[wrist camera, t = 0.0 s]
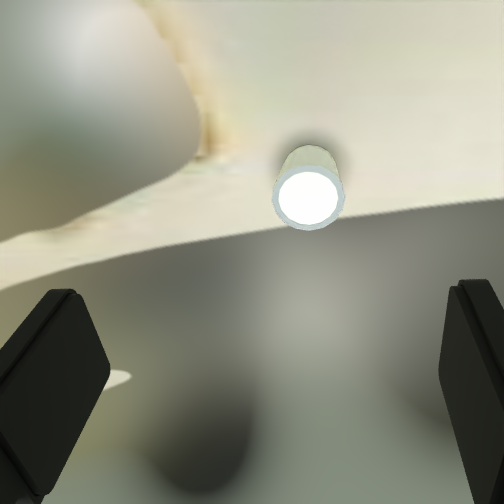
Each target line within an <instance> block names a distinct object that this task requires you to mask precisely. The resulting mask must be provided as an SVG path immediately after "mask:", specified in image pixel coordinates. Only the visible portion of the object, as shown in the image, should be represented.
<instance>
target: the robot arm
mask: <svg viewBox="0 0 504 504" xmlns="http://www.w3.org/2000/svg"><path fill="white" fill-rule="evenodd" d="M109 376H110V363H109V361H108V358H107V356H106V353H105V351H104V348H103V346H102V344H101V341H100V339H99V336H98V334H97V331H96V329H95V327H94V324H93V322H92V319H91V317H90V314H89V312H88V310H87V307H86V305H85V303H84V300H83V298H82V296H81V295H80V294H77V293H76V291H75V290H73V289H51V290H49V291H48V292H47V293H46V294H45V295H44V297H43V298H42V299H41V300H40V301H39V303H38V304H37V305H36V306H35V308H34V309H33V310H32V311H31V313H30V314H29V315H28V316H27V317H26V319H25V320H24V321H23V322H22V324H21V325H20V326H19V327H18V328H17V330H16V331H15V332H14V333H13V335H12V336H11V337H10V338H9V340H8V341H7V342H6V343H5V344H4V346H3V347H2V348H1V349H0V504H41V502H42V500H43V498H44V496H45V495H47V494H49V493H50V492H51V491H52V489H53V488H54V486H55V484H56V482H57V480H58V478H59V476H60V474H61V472H62V470H63V468H64V466H65V464H66V462H67V460H68V458H69V456H70V454H71V452H72V450H73V448H74V446H75V444H76V442H77V440H78V438H79V436H80V434H81V432H82V430H83V428H84V426H85V424H86V422H87V420H88V418H89V416H90V414H91V412H92V410H93V408H94V406H95V404H96V402H97V400H98V398H99V396H100V394H101V392H102V390H103V388H104V386H105V384H106V382H107V380H108V378H109ZM439 380H440V384H441V388H442V391H443V394H444V398H445V402H446V405H447V409H448V412H449V415H450V419H451V423H452V426H453V430H454V433H455V437H456V440H457V444H458V447H459V451H460V454H461V458H462V461H463V465H464V468H465V472H466V476H467V479H468V483H469V486H470V490H471V493H472V497H473V500H474V504H504V309H503V307H502V305H501V303H500V302H499V300H498V298H497V296H496V294H495V292H494V290H493V288H492V286H491V285H490V283H489V281H488V280H486V279H472V280H471V279H469V280H460V281H459V283H458V286H451V287H450V290H449V296H448V303H447V311H446V318H445V325H444V332H443V339H442V346H441V353H440V361H439Z"/></svg>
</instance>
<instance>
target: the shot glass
mask: <svg viewBox="0 0 504 504" xmlns="http://www.w3.org/2000/svg"><path fill="white" fill-rule="evenodd" d="M344 201H345V194H344V190H343V186H342V182H341V179H340V176H339V173H338V170H337V167H336V164H335V161H334V159H333V157H332V156H331V155H330V153H329V152H328V151H327V150H325V149H323V148H321V147H319V146H313V145H306V146H302V147H298V148H297V149H295V150H294V151H293V152H291V153H290V154H289V155H288V157H287V159H286V160H285V162H284V164H283V167H282V169H281V171H280V174H279V176H278V178H277V180H276V183H275V185H274V187H273V194H272V203H273V206H274V209H275V212H276V214H277V215H278V216H279V217H280V218H281V219H282V221H283V222H284V223H286V224H288V225H290V226H292V227H294V228H296V229H302V230H315V229H319V228H324V227H325V226H327V225H328V224H330V223H332V222H333V221H335V219H336V218H337V217H338V215H339V214H340V213H341V211H342V210H343V205H344Z"/></svg>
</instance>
